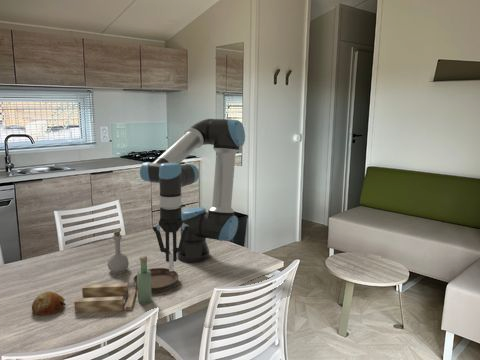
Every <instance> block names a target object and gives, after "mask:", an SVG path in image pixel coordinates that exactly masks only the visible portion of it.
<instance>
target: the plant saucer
mask: <svg viewBox="0 0 480 360" xmlns="http://www.w3.org/2000/svg"><path fill="white" fill-rule="evenodd" d="M147 270H150V271H151V285H152V293H153V292H161V291H165V290H169V289H170V288H172V287H173V286H174V285H175V284H176V283H177V282H178V280H179V277H180V276H179V274H178V272H177V271H176V270H173V271H169V268H166V267H155V268H147ZM132 281H133V283H134V284H135V285H136V286H137V274H135V276H134V277H133V280H132Z"/></svg>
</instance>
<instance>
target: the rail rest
mask: <svg viewBox="0 0 480 360" xmlns="http://www.w3.org/2000/svg"><path fill="white" fill-rule="evenodd" d="M81 289H82V290H81V291H82V297H79V298H75V300H74V302H73V303H74V304H73V305H74V313H75V314H76V313H92V312H93V313H94V312H95V313H96V312H111V311H112V312H116V311H117V312H119V311H123V310H124V309H125V311H132V310H133V309H132V308H133V305H134V303H135V299H136V295H137V289H130V291H129V284H128V283H125V282H123V283H104V284H103V283H102V284H100V283H98V284H83V286H82V288H81ZM127 297H128V298H127ZM124 306H125V307H124Z"/></svg>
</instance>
